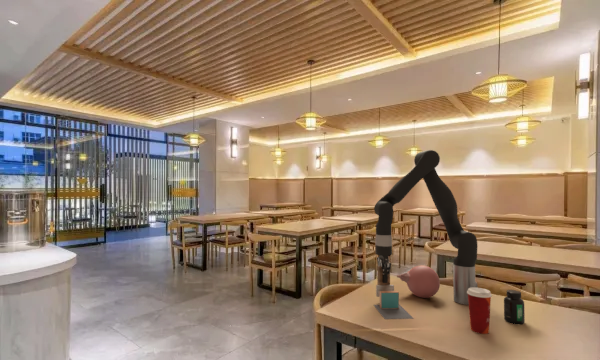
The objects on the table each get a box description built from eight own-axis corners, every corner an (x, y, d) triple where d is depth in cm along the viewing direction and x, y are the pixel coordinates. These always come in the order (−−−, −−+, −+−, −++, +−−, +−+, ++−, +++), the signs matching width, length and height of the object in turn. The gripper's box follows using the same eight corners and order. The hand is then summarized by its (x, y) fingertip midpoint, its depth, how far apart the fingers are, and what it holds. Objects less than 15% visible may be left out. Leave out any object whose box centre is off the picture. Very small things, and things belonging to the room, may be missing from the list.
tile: (397, 306, 141) (397, 290, 141) (399, 308, 139) (398, 292, 139) (379, 307, 141) (379, 291, 141) (381, 308, 139) (381, 292, 139)
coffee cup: (497, 335, 115) (496, 293, 116) (474, 335, 115) (473, 293, 116) (484, 325, 124) (483, 286, 124) (463, 325, 124) (462, 286, 124)
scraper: (391, 293, 149) (390, 265, 150) (394, 296, 145) (393, 267, 146) (374, 293, 149) (374, 265, 149) (376, 296, 145) (376, 268, 145)
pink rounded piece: (396, 290, 167) (396, 260, 168) (437, 293, 161) (437, 263, 162) (396, 299, 153) (396, 267, 153) (442, 304, 147) (441, 270, 147)
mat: (399, 306, 144) (399, 304, 144) (413, 320, 128) (413, 318, 128) (373, 306, 144) (373, 304, 144) (384, 321, 128) (384, 319, 128)
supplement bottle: (525, 326, 123) (524, 295, 123) (504, 322, 126) (503, 292, 127) (523, 320, 129) (523, 290, 129) (503, 316, 132) (503, 287, 133)
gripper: (397, 246, 141) (397, 286, 141) (386, 241, 155) (386, 277, 155) (380, 247, 141) (380, 286, 140) (371, 241, 155) (371, 277, 154)
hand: (383, 281), depth 148 cm, fingers closed on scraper, 3 cm apart
